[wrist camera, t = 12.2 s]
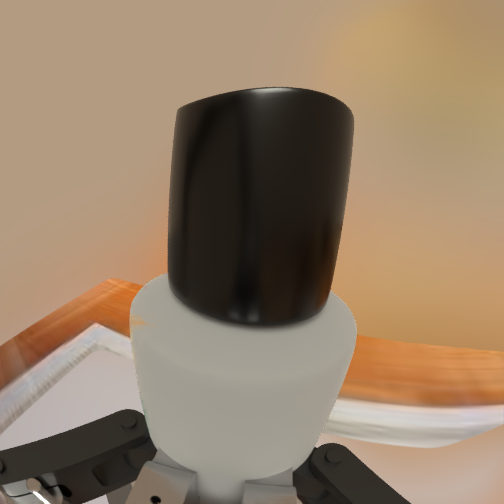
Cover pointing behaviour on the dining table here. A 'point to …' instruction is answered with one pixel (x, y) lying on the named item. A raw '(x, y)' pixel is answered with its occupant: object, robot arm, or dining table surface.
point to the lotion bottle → (248, 288)
